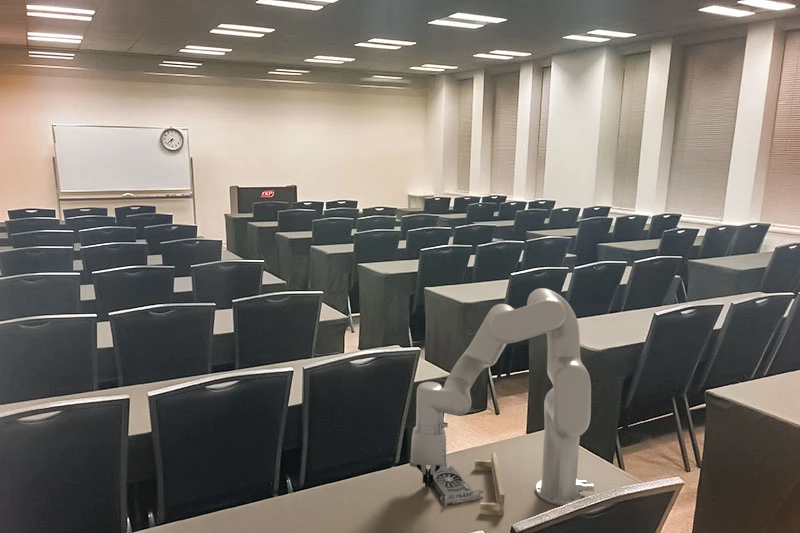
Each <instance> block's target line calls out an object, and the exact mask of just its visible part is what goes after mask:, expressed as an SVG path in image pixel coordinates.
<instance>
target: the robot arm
mask: <svg viewBox="0 0 800 533" xmlns="http://www.w3.org/2000/svg"><path fill="white" fill-rule="evenodd" d="M526 302H527V303H526V305H524V306H521V307H518V308H514V307H512V306H511V305H509V304H506V303H498V304H495V305H494V306H492V307H491V309H490V310H489V311H488V313H487V314H486V316H485V318H484V320H483V321H482V324H481V325H480V327H479V328H478V330H477V332H476V334H475V336H474V337H473V339H472V340H471V341H470V343H469V346H468V347H467V348H466V349H465V351H464V352H463V354H462V355H461V356H460V357H459V358H458V360H457V361H456V363H455V364H454V366H453V367H452V369H451V371H450V373H449V375H448V376H447V378H446V380H445V382H444V384H443V385H444V386H443V385H441V384H440V383H439V382H435V381H425V382H422V383H419V384H418V386H417V388H416V411H415V412H416V417H415V418H416V420H415V426H414V427H413V429H412V435H411V443H410V444H411V445H410V460H409V466H410V467H413V468H417V469H418V470H419V472H421V474H422V483H423V484H424V487H425V488H432V487H431V485H432V483H433V475H434V473H435V472H436V471H437V470H438V469H440V468H448V463H447V462H448V461H447V436H446V430H445V429H446V428H449V427H448V426H449V424H448V422H446V421H444V420H443V419H444V418H443V417H444V414H447V415H452V416H464V415H466V414H467V413H468V412H470V410H471V408H472V407H471V406H472V397H471V391H470V390H471V388H472V387H473V385H474V383H475V382H476V380H477V378H478V377H479V375H480V374H481V373H482V371H483V370H485V369H486V368H489V367H492V366H494V365H495V364H496V363H497V361H498V359H499V358H500V356H501V355H502V353H503V351H504V349H505V348H506V346H507V345H508V344H514V343H519V342H521V341H526V340H529V339H531V338H534V337H537V336H541V335H544V334H546V340H547V361H546V362H547V363H546V364H547V365H546V371H547V372H546V373H547V376H548V378H549V379H550V381H551V384H552V388H550V390H548V392H547V393H546V395H545V397H544V401H543V404H544V405H543V410H544V411H543V414H544V416H543V417H544V433H543V434H544V436H543V451H542V452H543V453H542V467H541V469H542V471H541V479H540V480H538V481H537V483H536V484H535V493H536V494H537V496H538V497H539V498H541V499H542V500H543V501H545V502H547V503H549V504H552V505H556V506H562V505H564V504H567V503H569V502H573V501H575V500H578V499H580V500H581V499H582V492H584V491H585V492H594V489H595V487H594V484H593V483H588V482H587V480H586V479H578V464H579V449H580V437H581V436H582V435H583V434H584V433H585V432H586V431H587V430H588V429H589V426H590V423H591V416H592V415H591V414H592V413H591V412H592V407H591V406H592V384H591V377H590V373H589V372H588V370H587V368H586V366H585V365H584V364H583V362H582V359H581V341H580V340H581V339H580V328H579V327H580V326H579V323H578V318H577V315H576V313H575V312H574V309H573V308H572V306H571V305H570V303H568V301H567V300H566V299H565V298H564V297H563V296H561V295H560V294H559V293H557V292H555V291H554V290H551V289H549V288H545V287H543V288H542V287H541V288H536V289H534V290H533V291H532V292H530V293H529V295H528V298H527V301H526ZM427 466H430V467H429V468H427ZM428 469H429V470H428Z"/></svg>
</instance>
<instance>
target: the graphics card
mask: <svg viewBox="0 0 800 533" xmlns="http://www.w3.org/2000/svg"><path fill="white" fill-rule="evenodd" d="M429 469H430V468H427V470H429ZM431 485H433V486H434V488H435V490H436V491H437V492H438V494H439V495H440V497H439V499H440V501H441V503H442V504H444V507H447V505H451V504H452V505H460V504H463V503H471V502H475V501H477V500H480V499H484V496H483V495H482V494H484V490H482V489H474V490H472V488H470V486H469V485H468V484H467V483H466V481H465V479H463V477H462V476H461V475H460V474H459V473H458V471H457V469H455V467H454V466H453V465H450V466H449V467H446V468H440V469H438V470H437V471H436V472H435V473H434V475H433V483H431Z"/></svg>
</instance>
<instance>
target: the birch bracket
mask: <svg viewBox="0 0 800 533" xmlns="http://www.w3.org/2000/svg"><path fill="white" fill-rule="evenodd" d="M497 456H498V455H497V453H496V451H491V456H490V457H491V458H490V459H491V460H487V459H486V460H485V459H484V460H483V459H475V460H474V471H483V472H484V471H485V472H491V478H492V483H493V488H494V494H495V500H496V502H480V506H479V509H480V510H479V513H480V515H486V516H487V515H490V516H504V515H505V491H504V485H503V482H502V476H501V471H500V467H499V462H498V461H499V460H498V457H497Z"/></svg>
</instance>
